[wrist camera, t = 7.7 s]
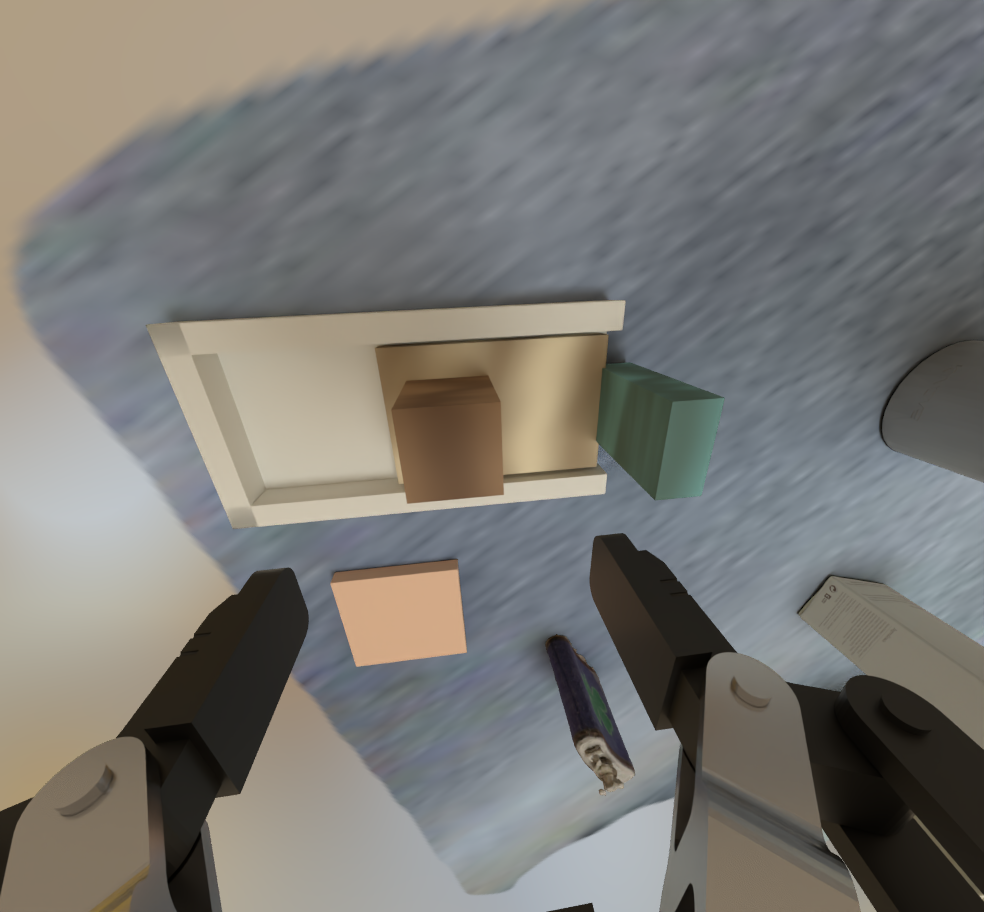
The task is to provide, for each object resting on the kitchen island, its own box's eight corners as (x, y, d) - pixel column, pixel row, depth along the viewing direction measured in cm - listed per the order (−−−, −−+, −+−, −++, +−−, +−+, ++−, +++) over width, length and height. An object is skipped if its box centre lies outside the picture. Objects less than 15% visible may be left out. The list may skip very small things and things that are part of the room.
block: (488, 375, 22) (500, 402, 16) (491, 449, 24) (504, 494, 18) (406, 380, 21) (391, 409, 16) (417, 455, 23) (407, 503, 18)
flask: (601, 676, 38) (651, 805, 29) (577, 687, 39) (619, 819, 29) (562, 629, 35) (605, 760, 25) (536, 643, 35) (569, 776, 25)
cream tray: (608, 300, 22) (625, 300, 20) (592, 478, 28) (604, 493, 25) (178, 321, 20) (145, 324, 18) (251, 509, 26) (233, 528, 23)
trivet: (457, 559, 30) (457, 569, 28) (466, 641, 34) (466, 652, 33) (334, 572, 29) (330, 583, 28) (359, 654, 33) (356, 666, 32)
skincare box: (795, 613, 37) (988, 793, 24) (830, 570, 35) (1066, 741, 22) (853, 622, 39) (1064, 794, 26) (891, 581, 37) (1144, 746, 23)
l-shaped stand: (633, 330, 23) (736, 350, 15) (618, 457, 26) (693, 528, 18) (378, 345, 21) (334, 376, 13) (400, 475, 25) (377, 561, 17)
